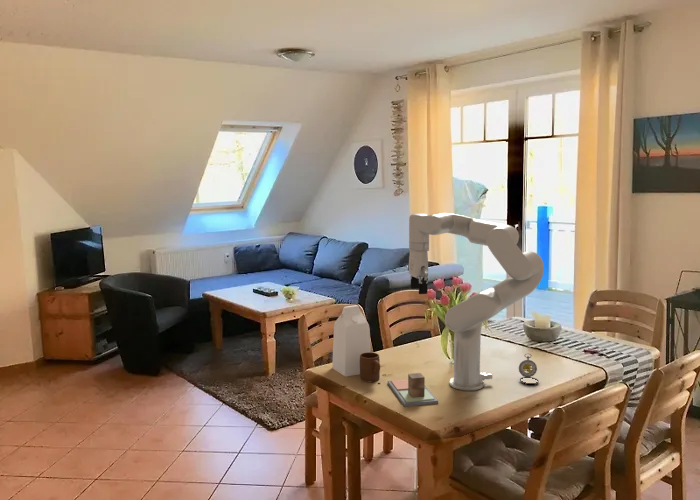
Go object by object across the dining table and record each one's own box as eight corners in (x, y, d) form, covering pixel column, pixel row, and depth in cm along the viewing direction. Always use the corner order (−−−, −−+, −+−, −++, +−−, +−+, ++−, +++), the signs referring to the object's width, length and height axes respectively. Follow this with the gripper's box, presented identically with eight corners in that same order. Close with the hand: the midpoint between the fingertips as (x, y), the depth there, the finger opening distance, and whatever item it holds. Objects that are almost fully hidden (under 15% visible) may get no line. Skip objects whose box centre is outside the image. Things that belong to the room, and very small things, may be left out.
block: (420, 391, 208) (420, 372, 207) (424, 396, 204) (424, 377, 203) (408, 393, 208) (408, 373, 207) (411, 397, 203) (412, 378, 202)
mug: (388, 384, 220) (388, 360, 218) (369, 387, 217) (369, 363, 215) (374, 374, 231) (374, 351, 229) (356, 377, 228) (356, 353, 226)
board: (418, 380, 223) (418, 377, 223) (438, 403, 202) (438, 399, 202) (387, 383, 221) (387, 379, 221) (404, 406, 199) (404, 402, 199)
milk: (358, 363, 244) (357, 301, 240) (372, 371, 234) (371, 307, 230) (332, 367, 239) (331, 305, 235) (345, 376, 229) (344, 311, 225)
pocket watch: (529, 387, 215) (529, 360, 214) (512, 379, 223) (513, 354, 221) (545, 383, 219) (546, 357, 218) (529, 376, 227) (529, 350, 225)
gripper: (402, 244, 229) (402, 287, 232) (416, 250, 213) (416, 296, 215) (421, 243, 231) (420, 286, 233) (436, 249, 214) (436, 295, 217)
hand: (418, 291), depth 224 cm, fingers open, 9 cm apart
